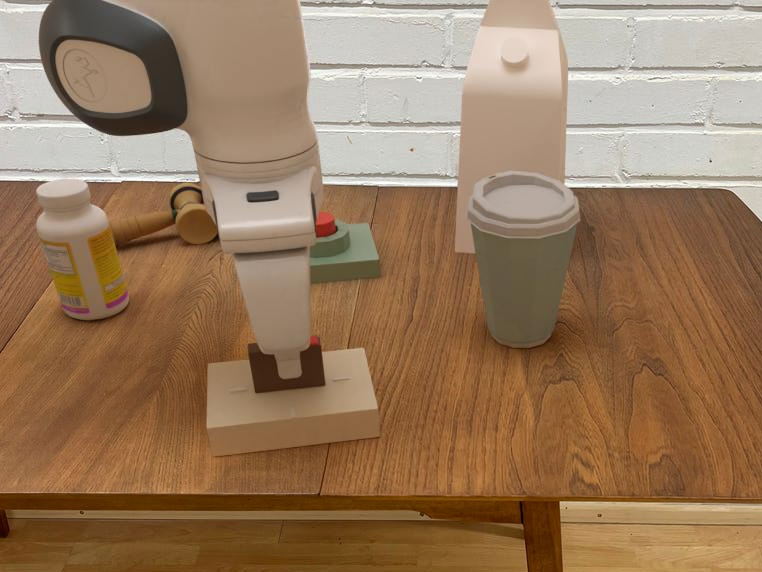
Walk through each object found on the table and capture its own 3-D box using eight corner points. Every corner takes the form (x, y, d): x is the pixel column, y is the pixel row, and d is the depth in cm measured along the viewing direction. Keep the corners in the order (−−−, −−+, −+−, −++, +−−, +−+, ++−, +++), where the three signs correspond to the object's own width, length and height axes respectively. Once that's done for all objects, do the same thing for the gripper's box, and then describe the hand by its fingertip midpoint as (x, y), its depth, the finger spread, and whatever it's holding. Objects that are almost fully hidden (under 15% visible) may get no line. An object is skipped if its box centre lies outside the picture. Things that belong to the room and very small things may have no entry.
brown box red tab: (255, 393, 76) (247, 350, 73) (254, 383, 77) (247, 340, 74) (325, 385, 77) (320, 343, 74) (324, 375, 78) (319, 333, 75)
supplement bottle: (128, 288, 97) (97, 170, 88) (133, 316, 92) (101, 195, 84) (62, 298, 95) (24, 179, 86) (64, 327, 90) (24, 204, 82)
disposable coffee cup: (592, 335, 90) (608, 191, 80) (517, 374, 84) (524, 223, 75) (518, 298, 96) (524, 159, 86) (443, 332, 90) (441, 187, 81)
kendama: (114, 275, 102) (266, 229, 106) (91, 220, 98) (248, 175, 102) (111, 258, 108) (254, 215, 112) (89, 207, 104) (237, 165, 109)
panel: (212, 457, 74) (205, 427, 72) (213, 390, 82) (207, 361, 80) (380, 437, 76) (378, 407, 74) (366, 374, 84) (363, 345, 82)
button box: (271, 287, 97) (266, 253, 95) (267, 248, 105) (263, 215, 102) (380, 277, 99) (378, 244, 97) (369, 239, 107) (367, 207, 104)
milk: (563, 219, 112) (580, -12, 95) (556, 259, 103) (574, 12, 87) (469, 213, 113) (470, -17, 97) (454, 252, 104) (453, 6, 88)
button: (304, 240, 98) (302, 225, 97) (302, 227, 101) (300, 212, 100) (337, 238, 99) (335, 223, 98) (334, 224, 101) (332, 210, 100)
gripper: (218, 137, 73) (246, 290, 82) (218, 242, 58) (252, 416, 66) (296, 132, 74) (315, 283, 83) (316, 233, 59) (336, 406, 67)
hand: (287, 343), depth 75 cm, fingers open, 8 cm apart
